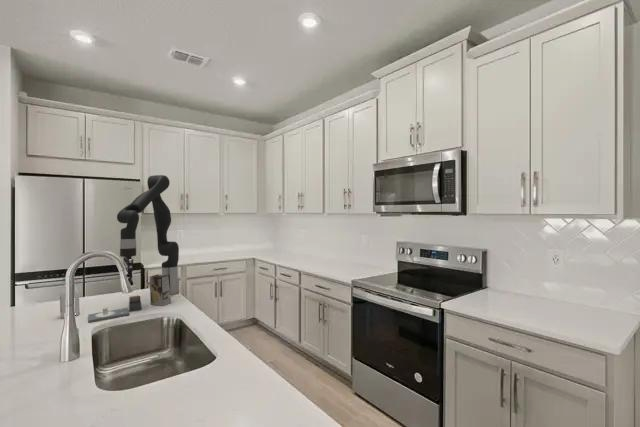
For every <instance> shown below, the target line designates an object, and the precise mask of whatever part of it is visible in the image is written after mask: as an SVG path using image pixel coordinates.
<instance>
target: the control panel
mask: <svg viewBox="0 0 640 427" xmlns="http://www.w3.org/2000/svg"><path fill="white" fill-rule="evenodd" d="M129 316H130V310H129V307H124V308H118V309H113V310H109V307H103V308H102V311H101V312H94V313H90V314H88V315H87V317H88V318H87V319H88V320H87V321H88V323H87V324H90V323H91V324H92V323H95V322H100V321H101V322H103V321H108V320H113V319H118V318H122V317H129Z"/></svg>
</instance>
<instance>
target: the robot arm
mask: <svg viewBox="0 0 640 427" xmlns="http://www.w3.org/2000/svg"><path fill="white" fill-rule="evenodd" d="M169 187H170V179H169V177H168V176H166V175H163V174H157V175H155V174H154V175H149V176H148V178H147V190H146V191H143V193H140V194H139V195H138V196H137V197H135V198H134V200H133V201H132V202H130V204H128V205H126V206H125V207H124V208H122V209H121V210H119V212H117V215H116V220H117V221H118V222H119V223H120V224H126V226H125V227H123V228H121V229H120V234H119V235H120V239H119V240H120V241H119V257H121V258H123V260H122V262H123V264H124V265H125V268H126V270H127V272H128V274H129V277H130V279H132V278H133V271H134V259H133V258H132V257H136V256H137V240H136V238H137V237H136V233H137V232H136V231H137V227H138V225H139V222H140V215H139V214H141V213H142V212H143V211H144V210H145V209H146V208H147V207H148V205H149V204H150V203H151V204H152V205H151V206H152V209H153V216H154V222H155V227H156V236H157V237H156V238H157V239H156V240H157V241H156V242H157V251H158V253H159V255H160V256H163V257H167V260H165V261H163V262H162V263H161V275H170V296H173V295H176V294H179V293H180V279H179V271H178V270H179V267H178V265H179V259H180V258H179V254H180V249H179V244H178V243H177V241H168V236H167V234H168V230H169V228H170V225H171V224H172V215H171V214H172V213H171V211H170V208H169V207H168V205H167V204H166V203H165V201H164V200H163V198H162V196H161V194H162V193H163V192H165V191H166V190H167V189H169ZM130 279H129V280H130Z"/></svg>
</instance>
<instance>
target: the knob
mask: <svg viewBox="0 0 640 427" xmlns="http://www.w3.org/2000/svg"><path fill="white" fill-rule="evenodd" d="M141 310H142V302H141V296H140V295H139V294H138V295H137V294H136V295H132V296H129V298H128V311H129V313H131V312H137V311H141Z"/></svg>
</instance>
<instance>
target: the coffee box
mask: <svg viewBox="0 0 640 427" xmlns="http://www.w3.org/2000/svg"><path fill="white" fill-rule="evenodd" d="M149 290H150V291H149V293H150V294H149V296H150V305H151V306H162V307H163V306H166V305H168V304H170V303H172V302H171V299H172V298H171V297H172V295H170V275H162V274H154V275H152V276H149Z"/></svg>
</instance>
